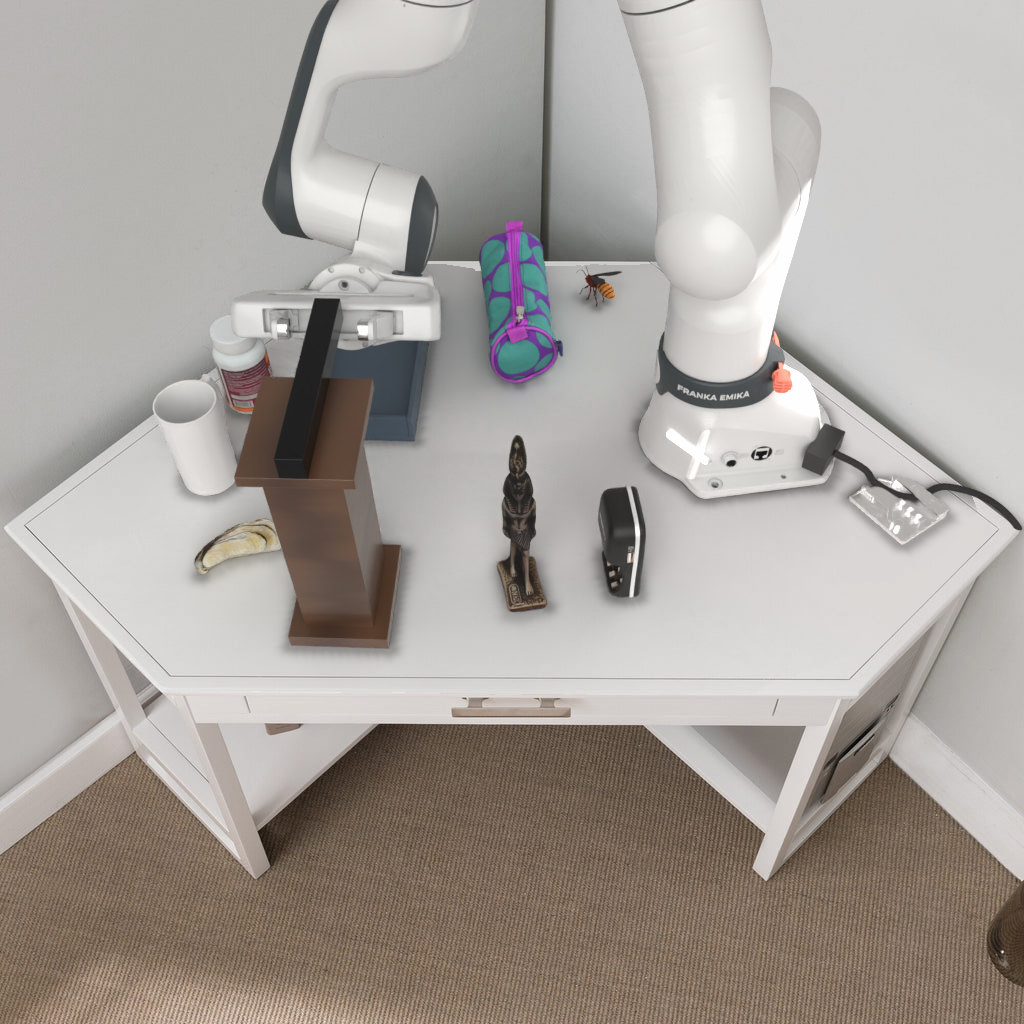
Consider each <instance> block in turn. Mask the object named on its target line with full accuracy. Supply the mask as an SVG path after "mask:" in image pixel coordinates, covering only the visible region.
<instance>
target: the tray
mask: <svg viewBox="0 0 1024 1024" xmlns="http://www.w3.org/2000/svg"><path fill="white" fill-rule="evenodd" d="M429 344H430V341H398V342H395V341H394V342H388V343H384V344H380V345H376V346H373V345H371V346H369V347H366V348H363V349H359V350H344V349H340V348H337V350H336V355H335V359H334V364H333V368H332V373H331V377H330V378H355V379H373V384H374V392H373V398H372V403H371V409H370V414H369V419H368V425H367V430H366V436H365V441H373V442H374V441H375V442H376V441H377V442H415V441H416V433H417V428H418V420H419V414H420V413H419V412H420V407H421V406H420V405H421V400H422V399H421V398H422V392H423V386H424V380H425V373H426V372H425V371H426V364H427V359H428V357H427V356H428V349H429Z"/></svg>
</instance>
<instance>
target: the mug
mask: <svg viewBox="0 0 1024 1024" xmlns="http://www.w3.org/2000/svg"><path fill="white" fill-rule="evenodd" d="M225 410H226V409H225V404H224V399H223V395H222V391H221V389H220V386H219V385H218V384H217V382H216V381H215V380H214V379H213V377H212V375H211V374H210V373H209V374H208V373H203V374H202V375H201V377H200V379H183V380H179V381H176V382H172V383H171V384H168V385H167V386H165V387H164V388H163V389H161V390H160V391H159V392H158V394H156V396H155V397H154V400H153V402H152V412H153V414H154V417H155V419H156V421H157V425H158V427H159V429H160V431H161V434H162V436H163V439H164V440H165V441H164V442H165V443H166V445H167V447H168V449H169V452H170V454H171V456H172V459H173V461H174V463H175V464H174V465H175V466H176V468H177V470H178V471H177V472H178V473H179V475H180V478H181V479H182V481H183V484H184V486H185V488H186V489H187V490H189V491H190V492H191V493H193V494H195V495H198V496H202V497H203V496H207V497H208V496H215V495H217V494H218V495H219V494H222V493H223V492H225V491H227V490H228V489H230V488H231V487H232V486H233V485H234V484H235V483H236V482H235V479H234V476H235V472H236V469H237V465H238V462H237V460H236V456H235V451H234V447H233V445H232V442H231V438H230V434H229V432H228V428H227V417H226V411H225Z"/></svg>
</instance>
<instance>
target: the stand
mask: <svg viewBox="0 0 1024 1024" xmlns="http://www.w3.org/2000/svg"><path fill="white" fill-rule="evenodd" d="M294 377H295V376H294ZM294 377H293V376H292V377H291V376H274V377H262V380H261V383H260V387H259V390H258V394H257V397H256V401H255V404H254V408H253V412H252V414H250V418H249V422H248V426H247V430H246V433H245V437H244V441H243V444H242V447H241V451H240V455H239V458H238V462H237V469H236V472H235V476H234V479H235V482H234V483H235V486H236V487H237V488H262V491H263V493H264V497H265V501H266V502H267V506H268V509H269V513H270V516H271V519H272V521H273V523H274V526H275V529H276V532H277V535H278V539H279V542H280V545H281V552H282V554H283V557H284V560H285V564H286V568H287V571H288V574H289V576H290V581H291V583H292V587H293V590H294V593H295V596H296V598H295V602H294V607H293V608H294V609H293V611H292V612H293V613H292V617H291V622H290V626H289V631H288V635H287V638H288V641H289V644H290V646H293V647H294V646H296V647H301V646H302V647H330V648H331V647H333V648H359V649H360V648H361V649H362V648H365V649H390V642H391V635H392V628H393V622H394V614H395V613H394V612H395V608H396V599H397V593H398V585H399V578H400V571H401V564H402V557H403V550H402V545H401V544H390V543H389V544H388V543H387V544H385V543H383V538H382V533H381V527H380V522H379V517H378V512H377V511H378V510H377V506H376V501H375V496H374V490H373V485H372V480H371V479H372V478H371V475H370V469H369V464H368V459H367V458H368V457H367V453H366V447H365V441H366V440H365V436H366V430H367V425H368V419H369V414H370V409H371V403H372V398H373V392H374V384H373V379H355V378H330V382H329V386H328V391H327V395H326V400H325V404H324V409H323V413H322V418H321V422H320V427H319V431H318V436H317V440H316V445H315V449H314V454H313V458H312V462H311V467H310V471H309V476H308V479H281V478H279V476H278V472H277V469H276V465H275V462H274V456H275V452H276V448H277V444H278V440H279V436H280V432H281V428H282V425H283V421H284V417H285V413H286V409H287V405H288V401H289V397H290V393H291V389H292V385H293V381H294Z"/></svg>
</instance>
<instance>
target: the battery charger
mask: <svg viewBox="0 0 1024 1024" xmlns="http://www.w3.org/2000/svg"><path fill="white" fill-rule="evenodd" d="M599 498H600V499H599V505H598V511H597V512H598V514H597V523H598V528H599V532H600V537H601V544H602V552H601V559H602V564H603V565H602V566H603V570H604V576H605V580H606V586H607V591H608V592H609V594H610V595H611V596H613V597H616V598H634V597H638V596H639V594H640V587H641V580H642V573H643V567H644V560H645V551H646V543H647V528H646V527H647V526H646V521H645V516H644V512H643V507H642V502H641V498H640V495H639V491H638V488H637V487H636V486H634V485H624V486H620V487H619V486H618V487H617V486H616V487H610V488H607V489H605V490H603V492H602V493H601V495H600V497H599Z"/></svg>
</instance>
